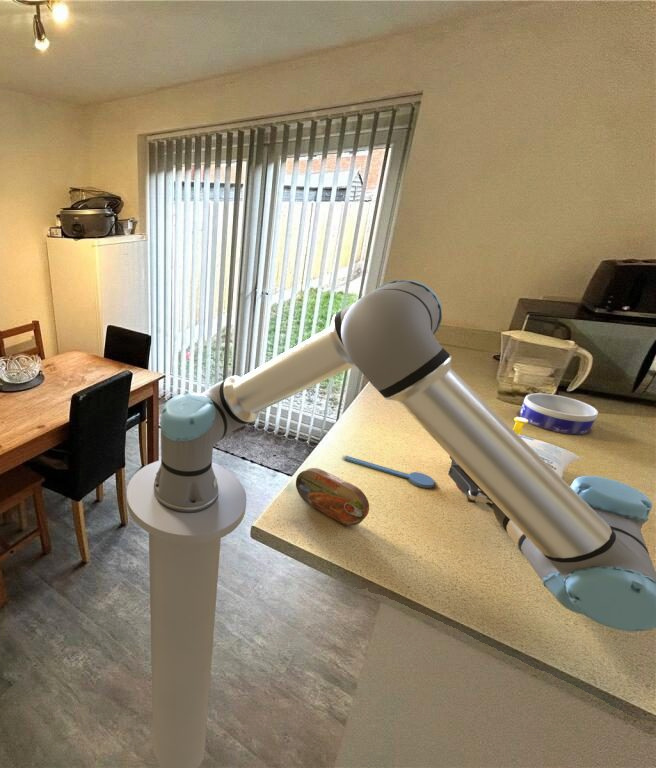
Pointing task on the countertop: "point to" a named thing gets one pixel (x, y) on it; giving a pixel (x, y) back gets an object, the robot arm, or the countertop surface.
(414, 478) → the spoon
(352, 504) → the tin
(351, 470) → the countertop surface
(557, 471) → the pouch
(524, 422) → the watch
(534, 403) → the dog bowl
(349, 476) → the countertop surface
